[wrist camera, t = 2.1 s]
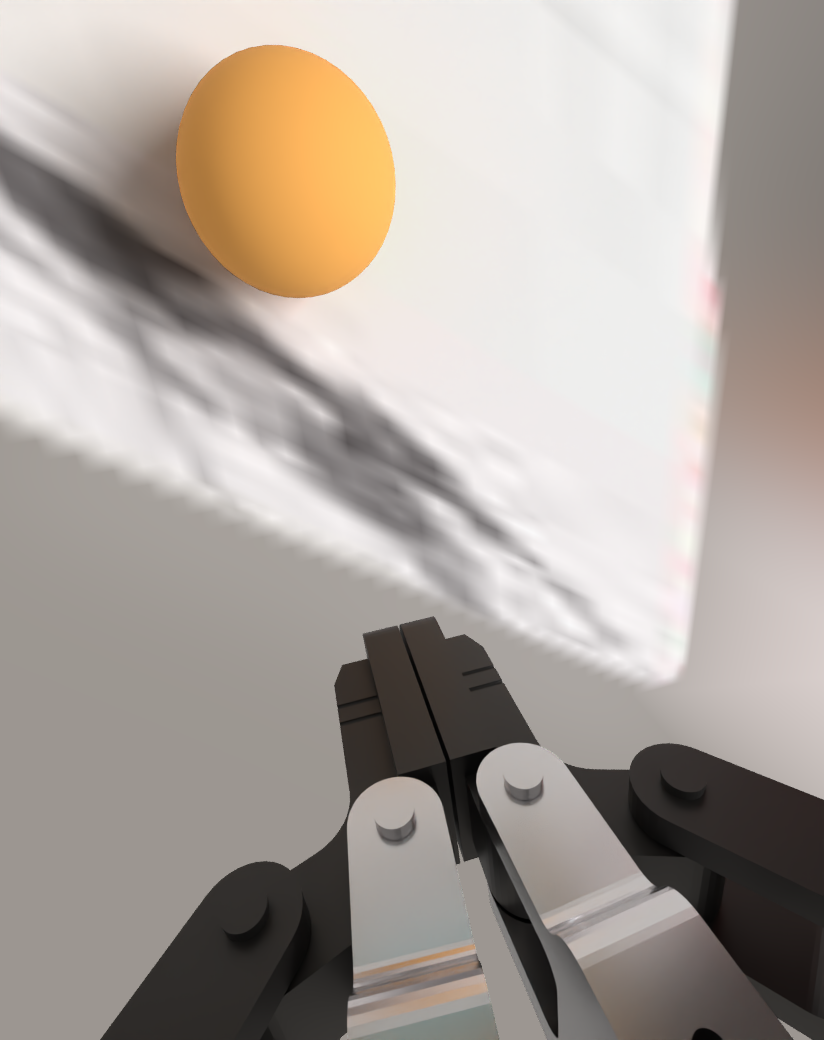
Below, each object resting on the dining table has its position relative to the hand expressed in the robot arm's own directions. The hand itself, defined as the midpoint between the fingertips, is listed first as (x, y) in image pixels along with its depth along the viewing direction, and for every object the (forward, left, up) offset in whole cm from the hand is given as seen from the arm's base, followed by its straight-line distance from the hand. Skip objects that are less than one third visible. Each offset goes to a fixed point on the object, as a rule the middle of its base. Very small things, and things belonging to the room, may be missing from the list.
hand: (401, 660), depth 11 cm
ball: (-10, 0, -8) cm, 12 cm away
